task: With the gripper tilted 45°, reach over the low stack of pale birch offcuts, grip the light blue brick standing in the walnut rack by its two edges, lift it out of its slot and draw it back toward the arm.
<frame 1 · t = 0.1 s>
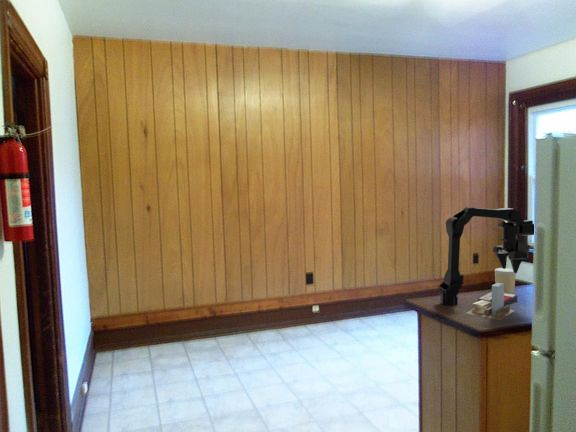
hand: (509, 270, 205), 15 cm above the counter, tool pointing down, fingers open, 9 cm apart
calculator: (497, 305, 206), on the counter
coffee cup: (505, 294, 221), on the counter
rack: (497, 315, 189), on the counter
light blue brick: (497, 313, 189), point 1 cm above the counter, touching rack
offcut stack: (482, 310, 193), point 1 cm above the counter, touching rack
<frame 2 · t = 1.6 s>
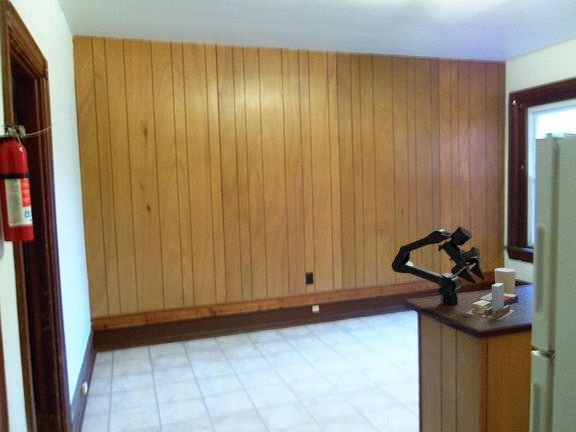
hand: (479, 281, 194), 13 cm above the counter, tool tilted 45°, fingers open, 9 cm apart
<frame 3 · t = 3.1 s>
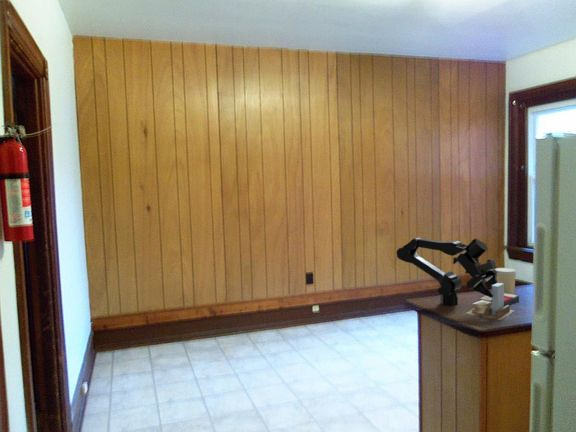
hand: (496, 294, 189), 9 cm above the counter, tool tilted 45°, fingers open, 9 cm apart
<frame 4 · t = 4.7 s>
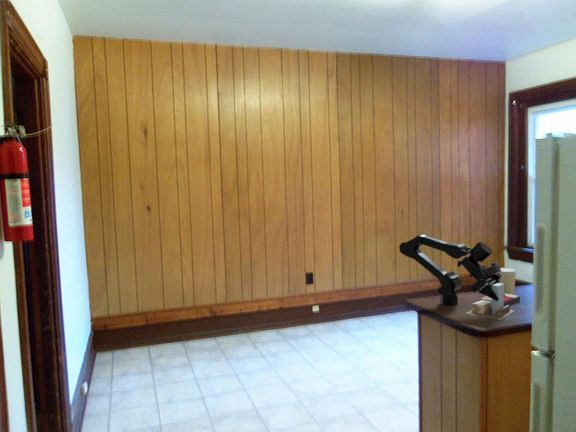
hand: (501, 298, 187), 8 cm above the counter, tool tilted 45°, fingers closed on light blue brick, 6 cm apart
light blue brick: (497, 313, 189), point 1 cm above the counter, touching gripper, rack
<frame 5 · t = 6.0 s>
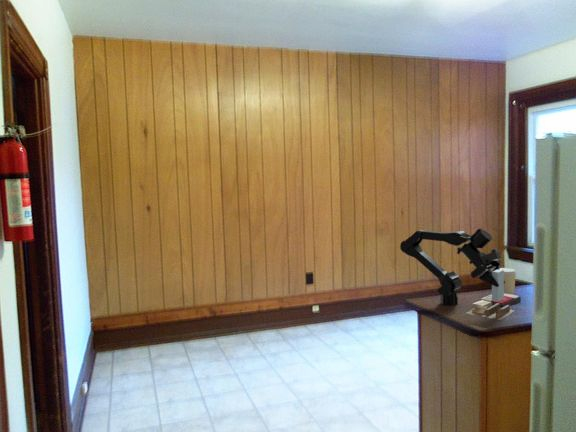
hand: (501, 284, 187), 13 cm above the counter, tool tilted 45°, fingers closed on light blue brick, 6 cm apart
light blue brick: (497, 299, 188), point 7 cm above the counter, touching gripper
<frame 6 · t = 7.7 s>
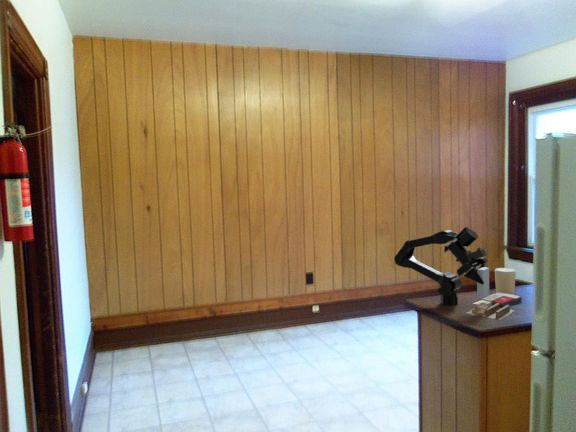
hand: (486, 282, 191), 14 cm above the counter, tool tilted 45°, fingers closed on light blue brick, 6 cm apart
light blue brick: (483, 296, 193), point 7 cm above the counter, touching gripper
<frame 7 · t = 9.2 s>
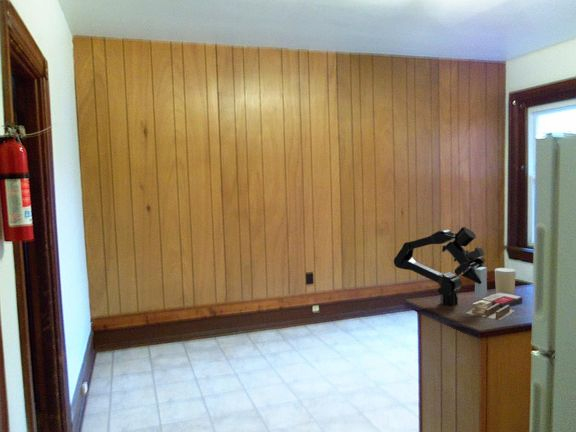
hand: (484, 281, 192), 14 cm above the counter, tool tilted 45°, fingers closed on light blue brick, 6 cm apart
light blue brick: (480, 296, 193), point 7 cm above the counter, touching gripper
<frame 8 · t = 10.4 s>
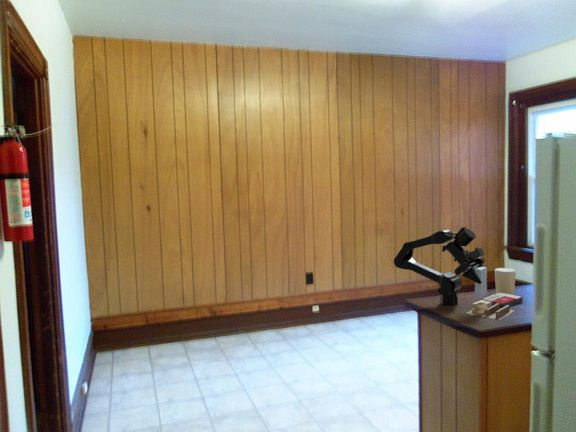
hand: (484, 281, 192), 14 cm above the counter, tool tilted 45°, fingers closed on light blue brick, 6 cm apart
light blue brick: (480, 296, 193), point 7 cm above the counter, touching gripper
at the end: the gripper is holding light blue brick; light blue brick point 7.1 cm above the counter; light blue brick moved 9.2 cm from its start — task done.
